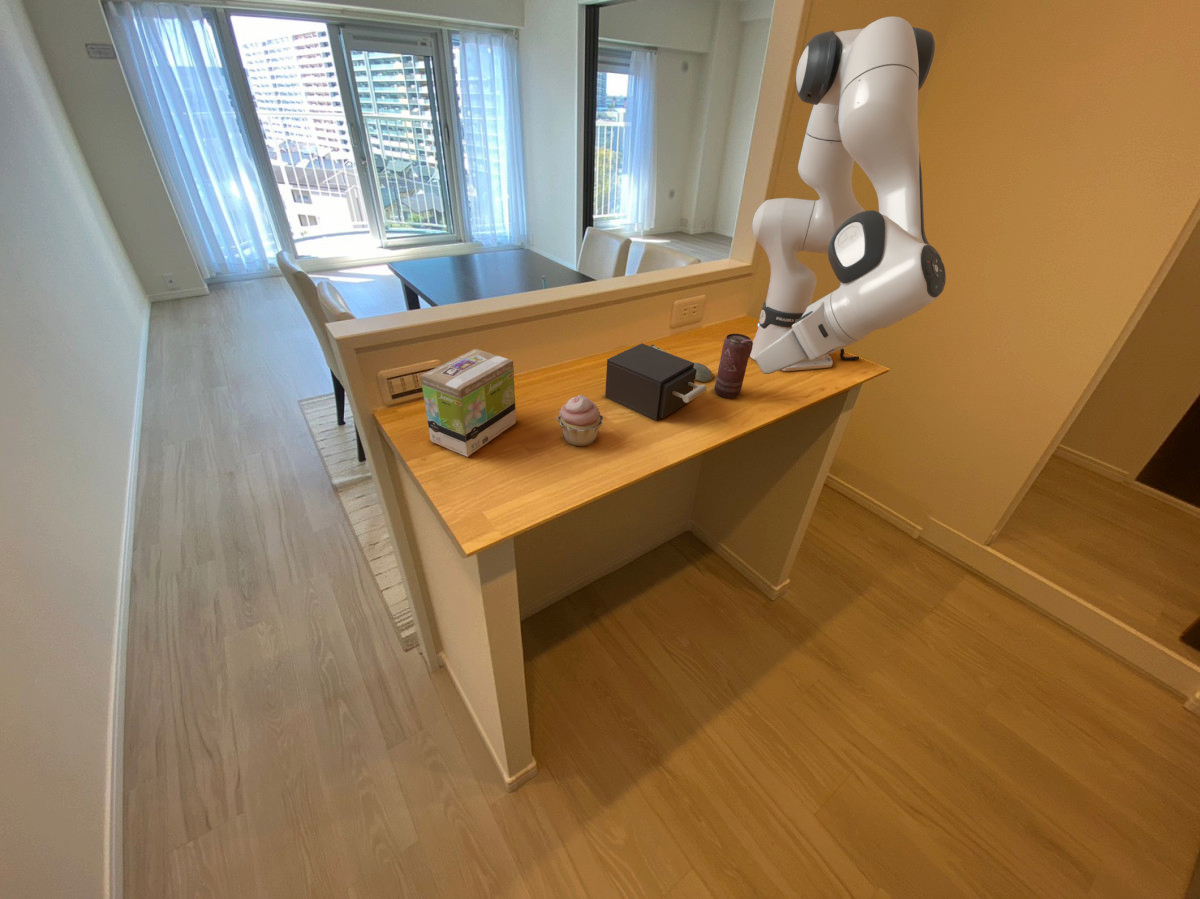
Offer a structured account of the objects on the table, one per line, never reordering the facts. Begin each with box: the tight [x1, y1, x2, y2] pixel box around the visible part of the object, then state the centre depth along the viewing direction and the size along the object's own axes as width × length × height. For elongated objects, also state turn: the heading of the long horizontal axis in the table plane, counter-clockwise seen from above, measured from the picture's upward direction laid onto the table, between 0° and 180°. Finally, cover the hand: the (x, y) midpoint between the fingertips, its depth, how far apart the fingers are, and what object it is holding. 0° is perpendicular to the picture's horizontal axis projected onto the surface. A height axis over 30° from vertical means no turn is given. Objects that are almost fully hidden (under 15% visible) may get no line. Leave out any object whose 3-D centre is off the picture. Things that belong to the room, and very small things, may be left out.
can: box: [714, 333, 753, 400], centre depth 113 cm, size 6×6×14 cm
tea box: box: [420, 348, 517, 458], centre depth 95 cm, size 15×10×15 cm, turn 151°
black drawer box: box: [604, 343, 695, 422], centre depth 111 cm, size 15×13×10 cm
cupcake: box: [556, 394, 604, 447], centre depth 96 cm, size 9×9×10 cm
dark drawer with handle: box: [658, 368, 707, 419], centre depth 109 cm, size 18×11×8 cm, turn 49°
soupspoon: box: [649, 344, 714, 383], centre depth 128 cm, size 22×3×7 cm
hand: (761, 360), depth 90 cm, fingers closed
